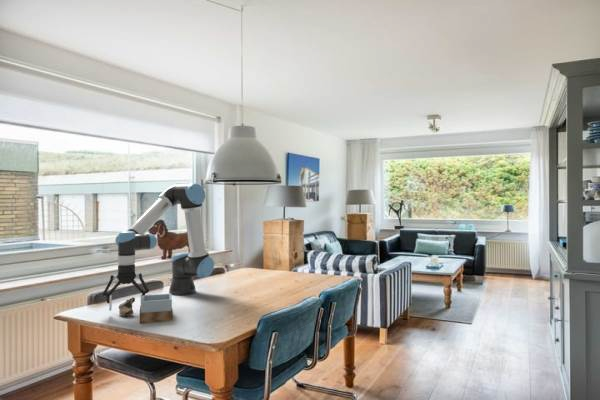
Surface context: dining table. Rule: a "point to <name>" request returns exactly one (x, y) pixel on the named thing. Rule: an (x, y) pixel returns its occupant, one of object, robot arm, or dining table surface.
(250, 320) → the dining table surface
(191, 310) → the dining table surface
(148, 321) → the tower base
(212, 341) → the dining table surface
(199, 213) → the robot arm
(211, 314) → the dining table surface
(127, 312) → the rock
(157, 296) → the tower top
